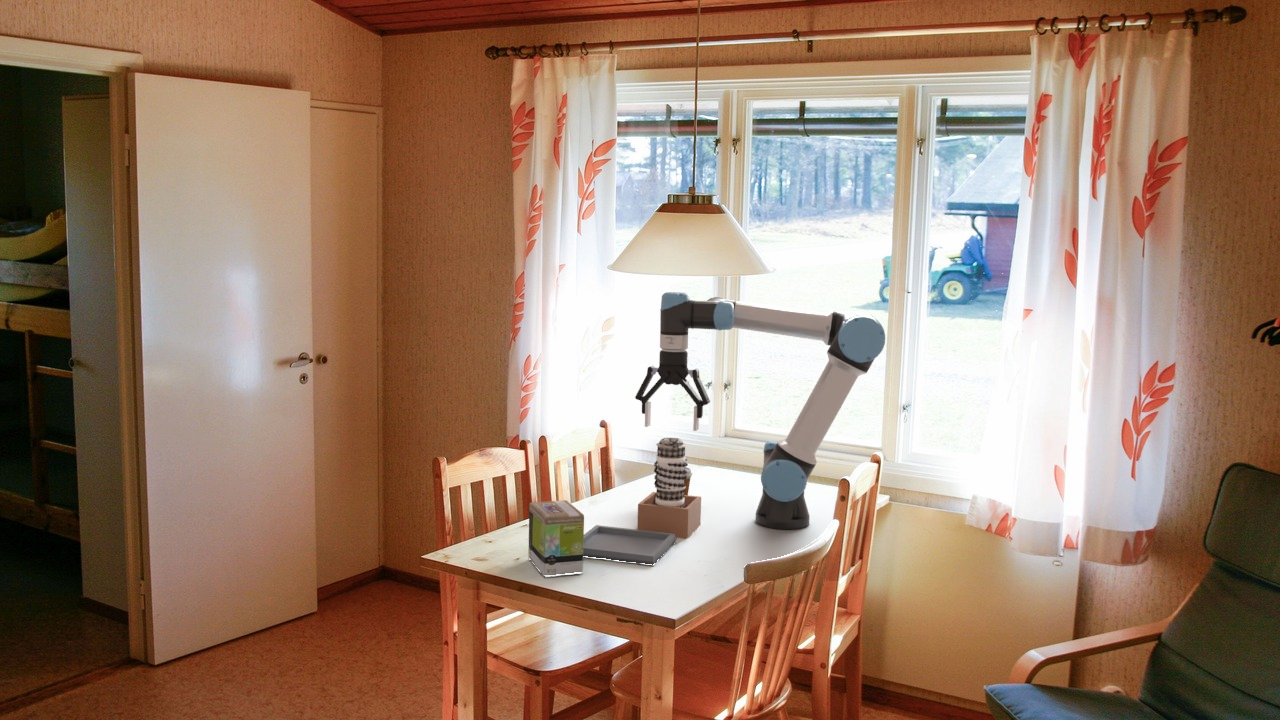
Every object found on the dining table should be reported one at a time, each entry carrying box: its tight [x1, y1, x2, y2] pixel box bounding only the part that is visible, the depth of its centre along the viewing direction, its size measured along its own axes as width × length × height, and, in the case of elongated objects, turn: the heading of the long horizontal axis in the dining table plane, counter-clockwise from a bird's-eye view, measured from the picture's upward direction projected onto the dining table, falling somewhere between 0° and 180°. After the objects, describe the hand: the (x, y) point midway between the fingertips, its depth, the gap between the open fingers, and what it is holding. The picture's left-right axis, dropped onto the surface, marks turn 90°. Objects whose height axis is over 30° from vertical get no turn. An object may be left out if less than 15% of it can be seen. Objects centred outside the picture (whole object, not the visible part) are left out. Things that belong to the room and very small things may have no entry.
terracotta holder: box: [636, 491, 702, 539], centre depth 284 cm, size 14×14×8 cm
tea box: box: [528, 499, 585, 575], centre depth 250 cm, size 15×10×15 cm, turn 21°
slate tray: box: [583, 524, 676, 565], centre depth 266 cm, size 22×20×2 cm
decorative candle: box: [653, 437, 689, 508], centre depth 283 cm, size 9×9×25 cm
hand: (671, 428), depth 281 cm, fingers open, 13 cm apart
